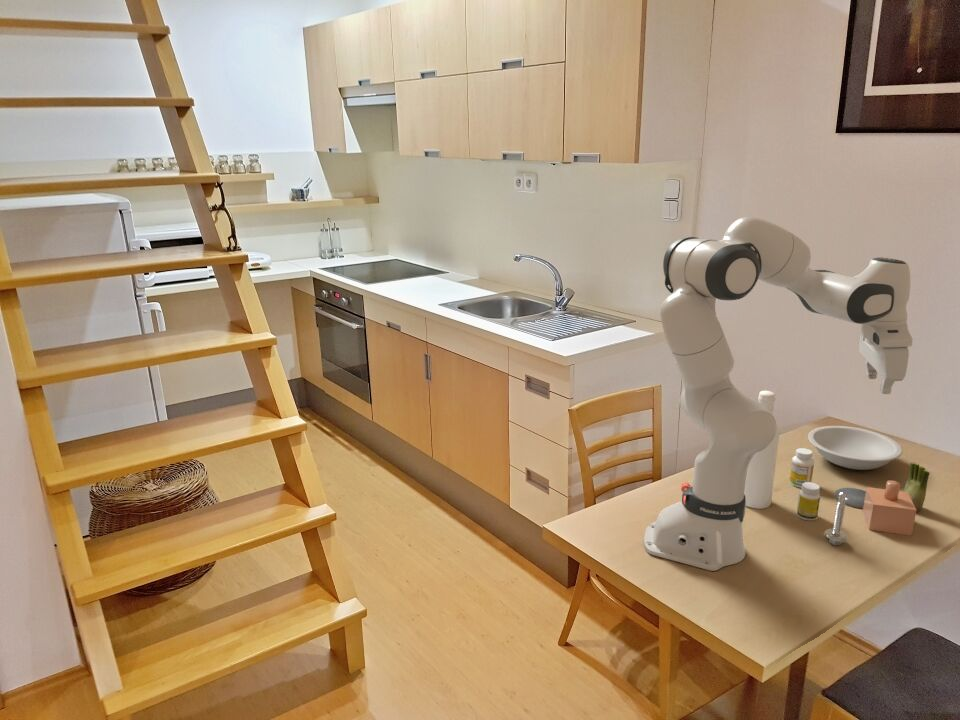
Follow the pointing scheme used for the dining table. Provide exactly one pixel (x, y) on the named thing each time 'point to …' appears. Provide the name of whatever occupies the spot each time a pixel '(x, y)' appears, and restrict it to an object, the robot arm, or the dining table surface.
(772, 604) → the dining table surface
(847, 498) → the gray glossy dome
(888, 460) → the soup bowl
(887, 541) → the dining table surface
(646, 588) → the dining table surface
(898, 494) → the terracotta cover
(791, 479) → the supplement bottle
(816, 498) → the supplement bottle
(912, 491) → the fennel bulb
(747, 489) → the bottle
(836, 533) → the screw
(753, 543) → the dining table surface
